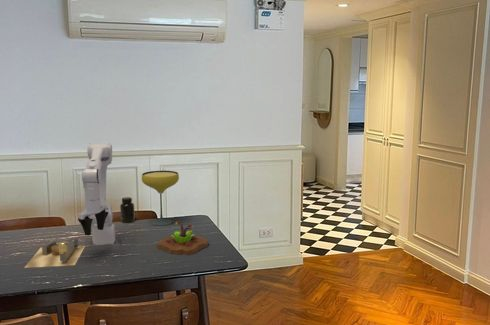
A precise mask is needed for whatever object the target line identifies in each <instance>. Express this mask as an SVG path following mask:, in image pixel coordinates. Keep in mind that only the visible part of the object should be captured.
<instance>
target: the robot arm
mask: <svg viewBox="0 0 490 325" xmlns="http://www.w3.org/2000/svg"><path fill="white" fill-rule="evenodd" d="M86 149H87V151H86V152H87V157H88V160H87V163H86V166H85V169H84V170H83V169H82V172H81V180H82V188H83V189H84V204H85V206H84V207H85V208H83V211H81V212H80V213H78V218H77V221H78V222H79V223H80V225H81V227H82V230H83V232H84V235H85V236H89V237H90V236H91V238H92V244H93V245H94V246H103V245H104V246H105V245H114V244H115V242H116V228H115V224H114V223H112V222H113V216H114V215H113V206H112V205H111V204H110V203H109V202H107V200H106V199H107V198H106V197H107V169H108V166H109V165H111V164H112V161H113V146H112V144H111V143H110V142H109V143H89V144H88V145H87V148H86Z"/></svg>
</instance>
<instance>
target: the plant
mask: <svg viewBox="0 0 490 325" xmlns="http://www.w3.org/2000/svg"><path fill="white" fill-rule="evenodd" d="M178 225H180V231H176V230H175V231H174V232H173V234H174V235H173V234H172V235H170V236H168V237H165V238H163V239H161V240H160V241H159V242H157V243H156V249H158V250H161V251H163V252H167V253H170V254H171V255H177V256H178V255H185V256H188V255H190V256H191V255H194V254H196V253H198V252H199V251H201V250H203V249H205V248H207V247H208V245H209V241H208V238H204V237H201V236H199V235H195V233H194V234H192V233H193V231H192V229H193V225H191V224H189V225H186V227H185V228H184V226H183V223H182V222H181V221H175V226H178ZM187 230H188V231H187Z"/></svg>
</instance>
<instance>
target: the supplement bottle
mask: <svg viewBox="0 0 490 325" xmlns="http://www.w3.org/2000/svg"><path fill="white" fill-rule="evenodd" d="M132 200H133V198H132V197H130V196H129V197H128V196H127V197H126V196H125V197H122V198H121V204H120V206H119V208H120V210H119V211H120V221H121V223H124V224H127V223H128V224H130V223H133V222H135V220H136V218H135V217H136V215H135V204H134V203H133V202H132Z"/></svg>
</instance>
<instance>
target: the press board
mask: <svg viewBox="0 0 490 325" xmlns="http://www.w3.org/2000/svg"><path fill="white" fill-rule="evenodd" d="M85 248H86V245H78V247H76V248H75V249H74V250H73V252H72V253H71V255H70V256H69V257H68V259H67V260H66V261H60V255H57V256H54V255H52V253H51V254H49V255H47V256H46V255H43V254H42V247H40V248H39V249H38V250H37V252H36V253H35V254H34V256H32V258H31V259H30V260H29V261H28V262H27V264H26V265H25V266H24V269H31V268H47V267H67V266H75V265H77V262H78V260H79V259H80V256H81V255H82V253H83V251H84V249H85Z"/></svg>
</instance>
